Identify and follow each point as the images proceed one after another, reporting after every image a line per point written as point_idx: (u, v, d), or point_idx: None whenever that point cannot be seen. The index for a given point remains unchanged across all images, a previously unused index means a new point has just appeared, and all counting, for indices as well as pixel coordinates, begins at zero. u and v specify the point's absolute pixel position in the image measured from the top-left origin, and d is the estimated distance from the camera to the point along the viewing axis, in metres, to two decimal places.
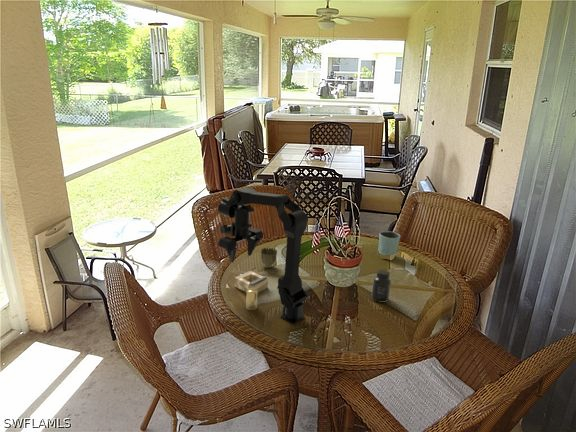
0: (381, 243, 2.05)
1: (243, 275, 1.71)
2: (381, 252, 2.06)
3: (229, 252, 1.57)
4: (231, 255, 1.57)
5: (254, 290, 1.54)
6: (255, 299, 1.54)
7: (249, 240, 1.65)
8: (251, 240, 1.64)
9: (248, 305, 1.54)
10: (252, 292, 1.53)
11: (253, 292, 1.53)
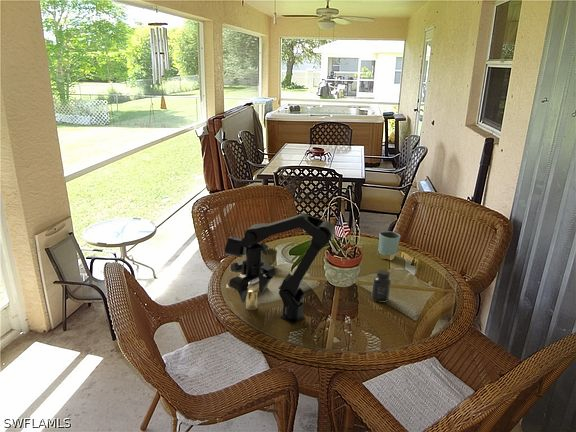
0: (381, 243, 2.05)
1: (243, 275, 1.71)
2: (381, 252, 2.06)
3: (240, 292, 1.49)
4: (242, 295, 1.49)
5: (254, 290, 1.54)
6: (255, 299, 1.54)
7: (261, 278, 1.57)
8: (263, 278, 1.56)
9: (248, 305, 1.54)
10: (252, 292, 1.53)
11: (253, 292, 1.53)
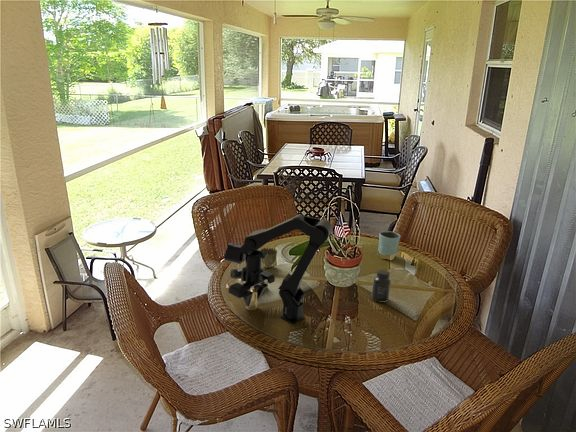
0: (381, 243, 2.05)
1: None
2: (381, 252, 2.06)
3: (245, 296, 1.52)
4: (247, 299, 1.52)
5: (254, 290, 1.54)
6: (255, 299, 1.54)
7: (256, 286, 1.56)
8: (258, 286, 1.55)
9: None
10: (252, 292, 1.53)
11: (253, 292, 1.53)
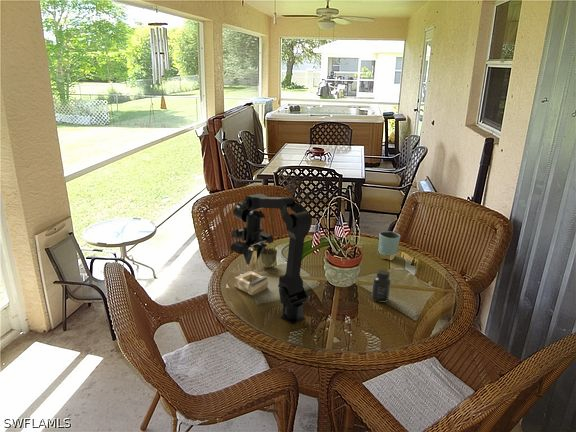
0: (381, 243, 2.05)
1: (243, 275, 1.71)
2: (381, 252, 2.06)
3: (245, 254, 1.63)
4: (247, 257, 1.63)
5: (254, 249, 1.65)
6: (255, 257, 1.65)
7: (255, 246, 1.67)
8: (257, 246, 1.66)
9: None
10: None
11: (253, 251, 1.64)
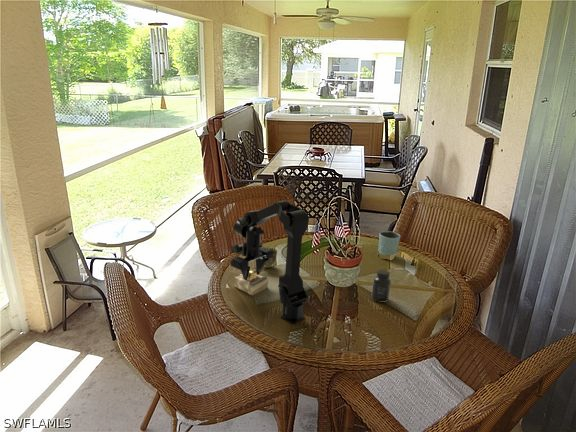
0: (381, 243, 2.05)
1: None
2: (381, 252, 2.06)
3: (243, 271, 1.65)
4: (245, 273, 1.64)
5: (253, 271, 1.69)
6: (254, 279, 1.68)
7: (257, 260, 1.71)
8: (259, 260, 1.70)
9: None
10: (252, 273, 1.67)
11: (252, 273, 1.68)
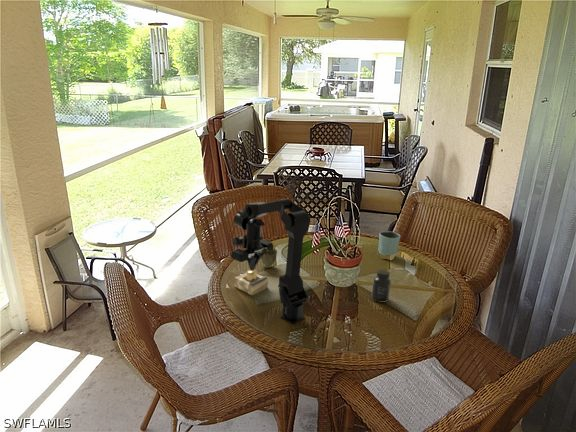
0: (381, 243, 2.05)
1: (243, 275, 1.71)
2: (381, 252, 2.06)
3: (249, 260, 1.66)
4: (251, 263, 1.66)
5: (253, 271, 1.69)
6: (254, 279, 1.68)
7: None
8: (254, 255, 1.66)
9: None
10: (252, 273, 1.67)
11: (253, 273, 1.67)
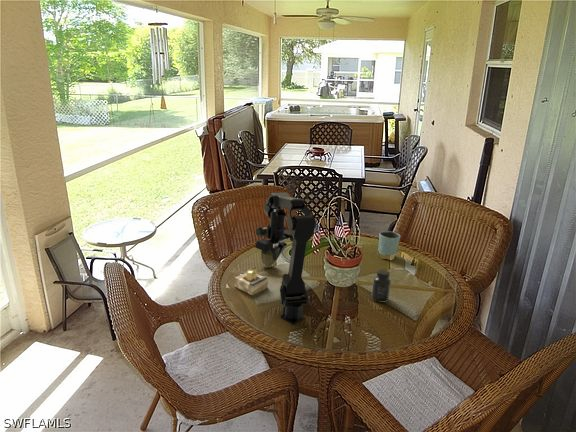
0: (381, 243, 2.05)
1: (243, 275, 1.71)
2: (381, 252, 2.06)
3: (273, 251, 1.66)
4: (274, 254, 1.66)
5: (253, 271, 1.69)
6: (254, 279, 1.68)
7: None
8: (278, 245, 1.67)
9: None
10: (252, 273, 1.67)
11: (252, 273, 1.68)
